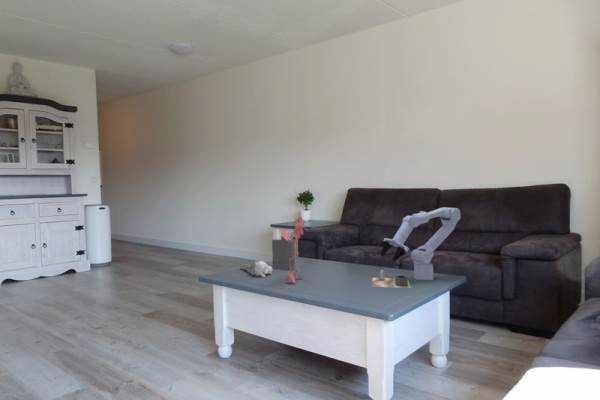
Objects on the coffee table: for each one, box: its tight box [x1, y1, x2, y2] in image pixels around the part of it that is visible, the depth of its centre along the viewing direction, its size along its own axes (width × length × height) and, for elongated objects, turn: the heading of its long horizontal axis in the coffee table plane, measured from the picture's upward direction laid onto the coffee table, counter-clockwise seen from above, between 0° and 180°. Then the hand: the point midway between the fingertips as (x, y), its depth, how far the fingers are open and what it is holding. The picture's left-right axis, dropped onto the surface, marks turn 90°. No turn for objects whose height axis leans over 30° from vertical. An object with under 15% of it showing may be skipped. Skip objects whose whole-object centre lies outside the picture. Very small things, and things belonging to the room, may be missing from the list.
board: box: [371, 277, 412, 289], centre depth 212 cm, size 18×20×1 cm
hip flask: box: [271, 235, 296, 272], centre depth 257 cm, size 16×4×20 cm, turn 56°
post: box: [379, 269, 386, 281], centre depth 218 cm, size 3×3×5 cm
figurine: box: [279, 215, 315, 286], centre depth 222 cm, size 15×26×35 cm, turn 157°
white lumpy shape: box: [254, 260, 273, 278], centre depth 239 cm, size 6×8×12 cm
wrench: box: [240, 260, 258, 276], centre depth 248 cm, size 8×2×30 cm
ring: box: [394, 275, 409, 286], centre depth 207 cm, size 6×6×4 cm
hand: (387, 258), depth 212 cm, fingers open, 7 cm apart
